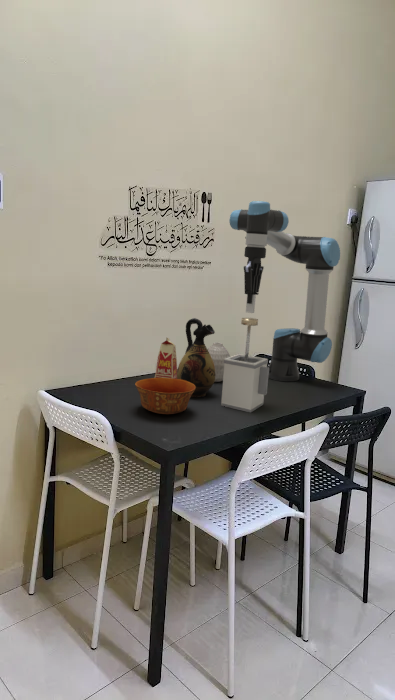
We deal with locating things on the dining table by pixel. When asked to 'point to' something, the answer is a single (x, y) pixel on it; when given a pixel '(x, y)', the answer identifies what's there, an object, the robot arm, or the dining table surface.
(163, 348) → the milk carton
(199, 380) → the ceramic jug
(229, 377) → the box
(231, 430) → the dining table surface
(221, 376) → the vase
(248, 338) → the plunger
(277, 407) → the dining table surface
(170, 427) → the dining table surface
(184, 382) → the bowl
